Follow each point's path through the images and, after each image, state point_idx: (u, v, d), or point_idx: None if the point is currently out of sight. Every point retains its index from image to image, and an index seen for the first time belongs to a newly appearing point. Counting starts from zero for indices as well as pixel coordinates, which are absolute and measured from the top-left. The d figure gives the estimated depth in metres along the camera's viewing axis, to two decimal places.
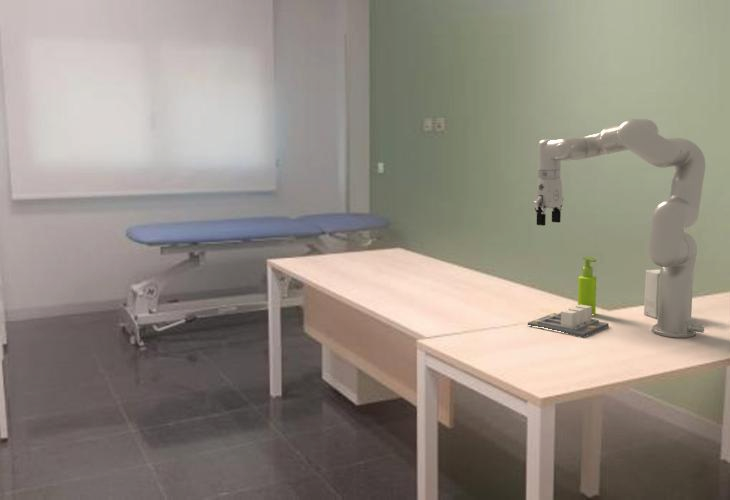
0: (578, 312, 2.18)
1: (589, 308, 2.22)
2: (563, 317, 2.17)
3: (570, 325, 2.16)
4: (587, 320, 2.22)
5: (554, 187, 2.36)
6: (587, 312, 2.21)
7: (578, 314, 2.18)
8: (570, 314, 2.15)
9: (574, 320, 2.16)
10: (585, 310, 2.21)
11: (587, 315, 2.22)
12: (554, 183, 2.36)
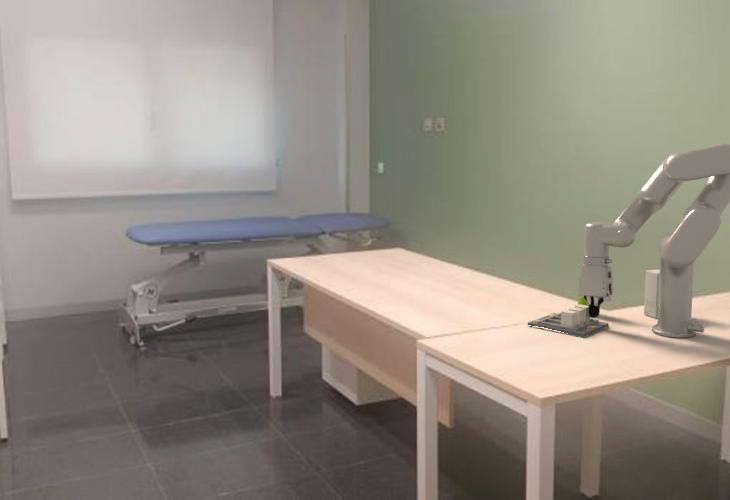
0: (578, 312, 2.18)
1: (588, 308, 2.22)
2: (563, 317, 2.17)
3: (570, 325, 2.16)
4: (586, 320, 2.22)
5: None
6: (586, 312, 2.21)
7: (578, 314, 2.18)
8: (570, 314, 2.15)
9: (574, 320, 2.16)
10: (584, 310, 2.21)
11: (586, 315, 2.22)
12: None
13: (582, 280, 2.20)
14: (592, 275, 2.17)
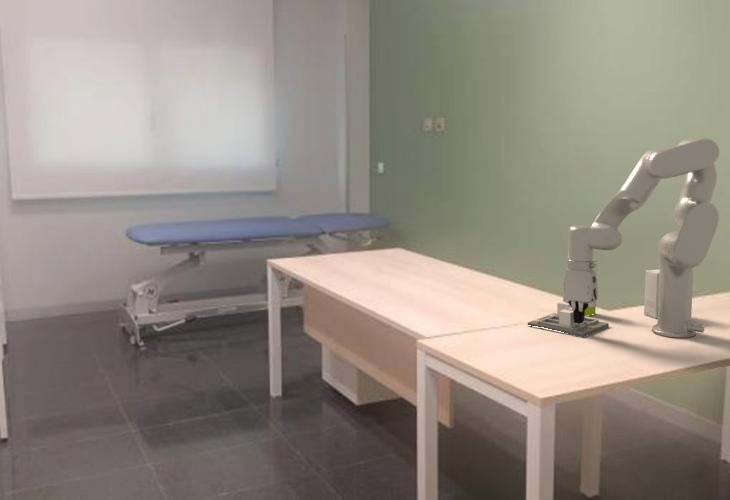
0: None
1: None
2: (561, 317, 2.18)
3: (568, 325, 2.16)
4: None
5: None
6: None
7: None
8: (568, 314, 2.16)
9: (572, 320, 2.17)
10: (566, 307, 2.26)
11: None
12: None
13: (566, 285, 2.14)
14: (576, 280, 2.11)
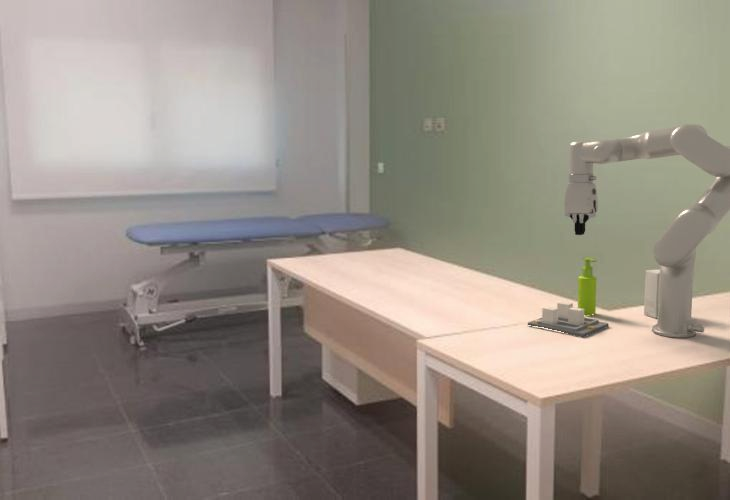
0: (578, 312, 2.18)
1: (570, 305, 2.27)
2: (544, 314, 2.22)
3: (551, 321, 2.21)
4: None
5: None
6: None
7: (578, 314, 2.18)
8: (551, 311, 2.20)
9: (555, 316, 2.21)
10: (566, 307, 2.26)
11: None
12: None
13: (568, 198, 2.26)
14: (577, 192, 2.23)
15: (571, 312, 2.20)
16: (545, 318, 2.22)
